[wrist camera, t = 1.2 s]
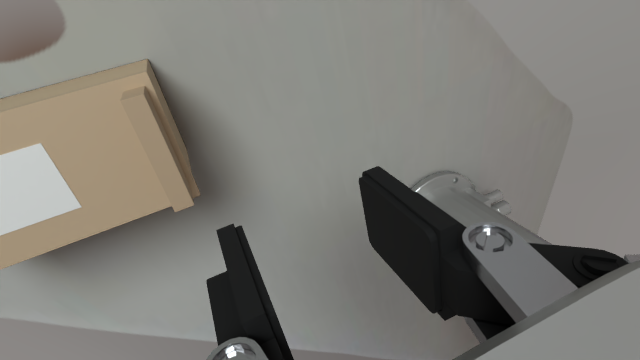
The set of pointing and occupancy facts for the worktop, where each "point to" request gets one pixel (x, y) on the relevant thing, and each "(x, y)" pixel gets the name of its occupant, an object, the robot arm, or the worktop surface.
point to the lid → (86, 166)
